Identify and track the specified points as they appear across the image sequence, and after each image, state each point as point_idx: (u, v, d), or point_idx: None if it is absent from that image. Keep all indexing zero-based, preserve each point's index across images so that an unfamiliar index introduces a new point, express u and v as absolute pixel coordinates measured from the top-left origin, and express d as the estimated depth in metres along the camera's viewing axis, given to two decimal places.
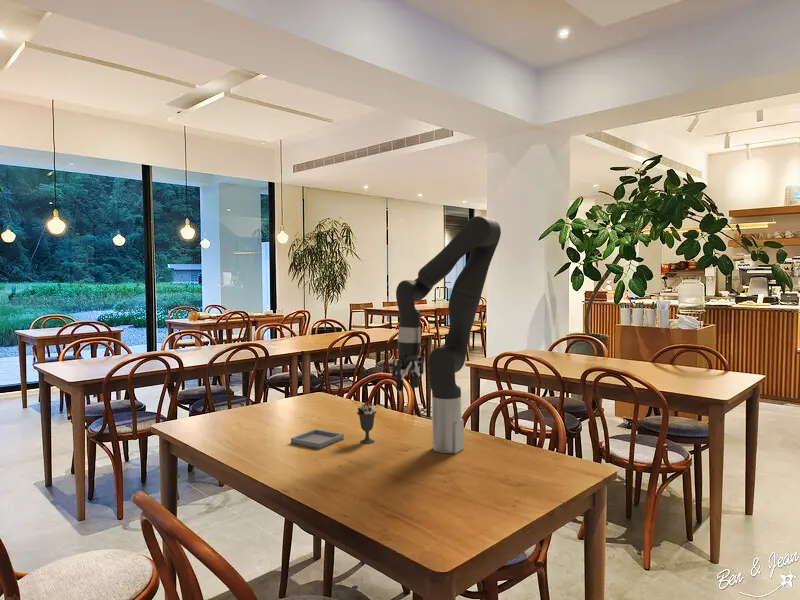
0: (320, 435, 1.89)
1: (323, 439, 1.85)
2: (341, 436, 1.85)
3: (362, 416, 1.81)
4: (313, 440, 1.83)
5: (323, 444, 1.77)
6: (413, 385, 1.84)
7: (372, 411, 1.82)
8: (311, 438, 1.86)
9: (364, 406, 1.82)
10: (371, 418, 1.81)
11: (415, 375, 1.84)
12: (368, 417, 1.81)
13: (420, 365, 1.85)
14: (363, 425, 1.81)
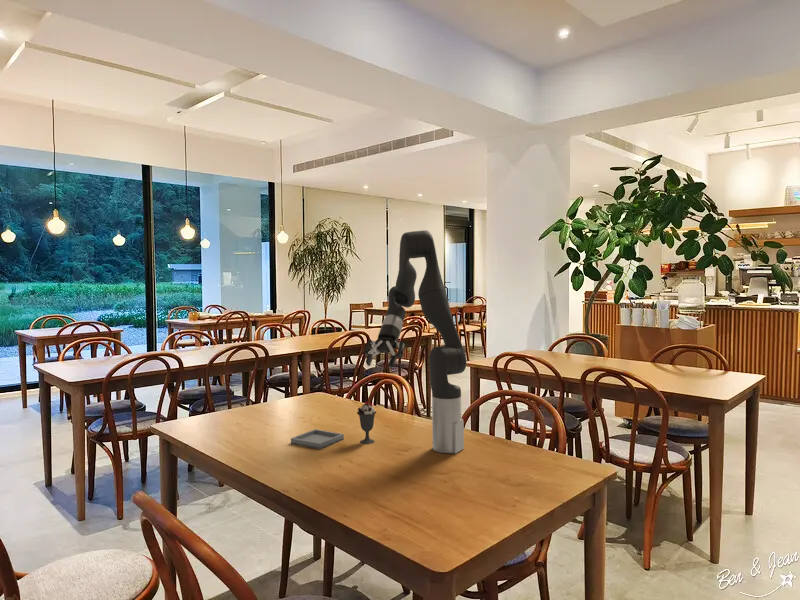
0: (320, 435, 1.89)
1: (323, 439, 1.85)
2: (341, 436, 1.85)
3: (362, 416, 1.81)
4: (313, 440, 1.83)
5: (323, 444, 1.77)
6: None
7: (372, 411, 1.82)
8: (311, 438, 1.86)
9: (364, 406, 1.82)
10: (371, 418, 1.81)
11: None
12: (368, 417, 1.81)
13: None
14: (363, 425, 1.81)
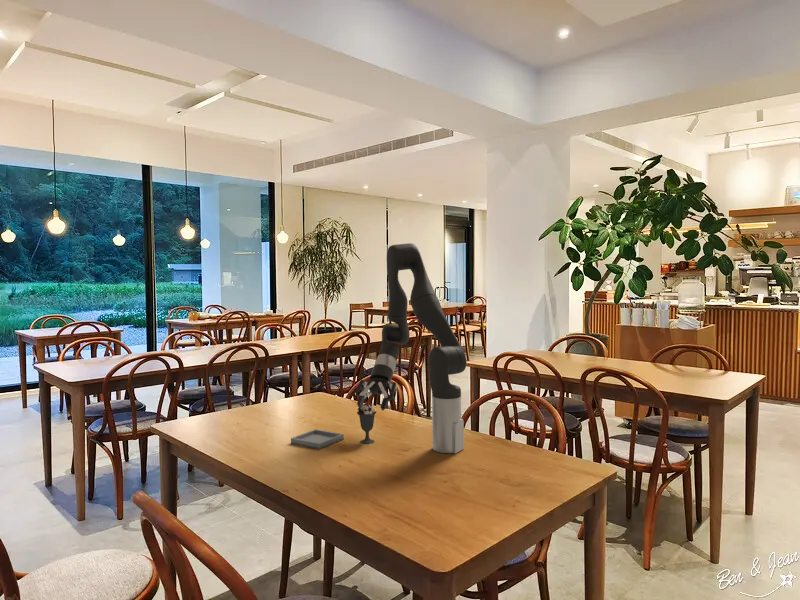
0: (320, 435, 1.89)
1: (323, 439, 1.85)
2: (341, 436, 1.85)
3: (362, 416, 1.81)
4: (313, 440, 1.83)
5: (323, 444, 1.77)
6: None
7: (372, 411, 1.82)
8: (311, 438, 1.86)
9: (364, 406, 1.82)
10: (371, 418, 1.81)
11: None
12: (368, 417, 1.81)
13: None
14: (363, 425, 1.81)
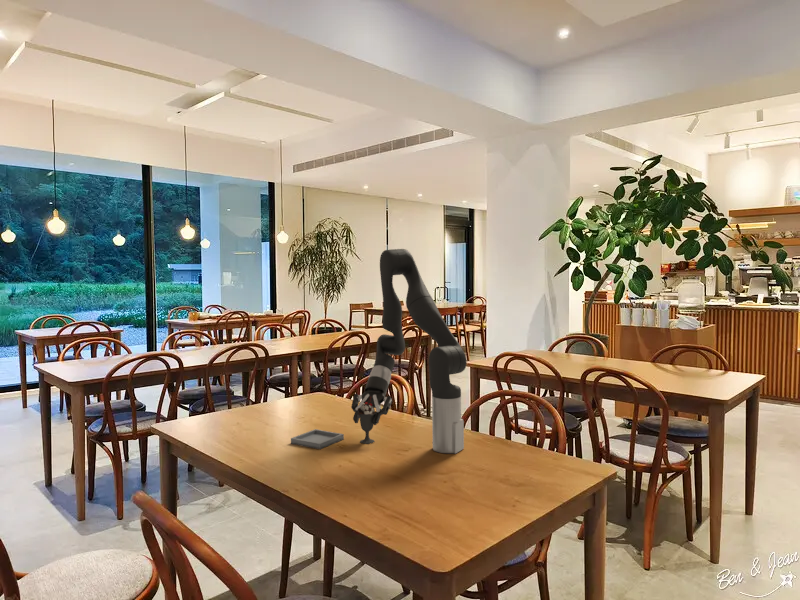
0: (320, 435, 1.89)
1: (323, 439, 1.85)
2: (341, 436, 1.85)
3: (362, 416, 1.81)
4: (313, 440, 1.83)
5: (323, 444, 1.77)
6: None
7: (372, 411, 1.82)
8: (311, 438, 1.86)
9: (364, 406, 1.82)
10: (372, 418, 1.81)
11: None
12: (368, 417, 1.81)
13: None
14: (363, 425, 1.81)
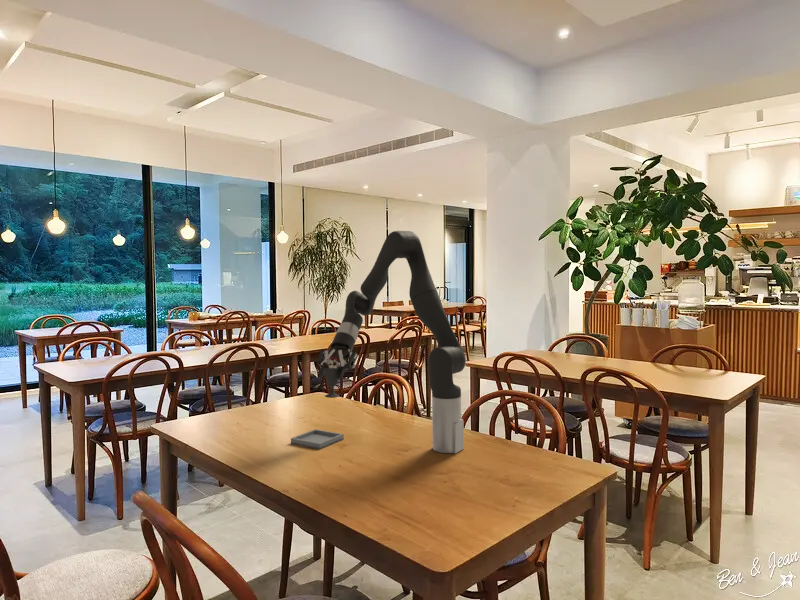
0: (320, 435, 1.89)
1: (323, 439, 1.85)
2: (341, 436, 1.85)
3: (327, 370, 1.82)
4: (313, 440, 1.83)
5: (323, 444, 1.77)
6: None
7: (337, 365, 1.83)
8: (311, 438, 1.86)
9: (329, 360, 1.83)
10: (336, 372, 1.82)
11: None
12: (332, 371, 1.82)
13: None
14: (328, 379, 1.82)
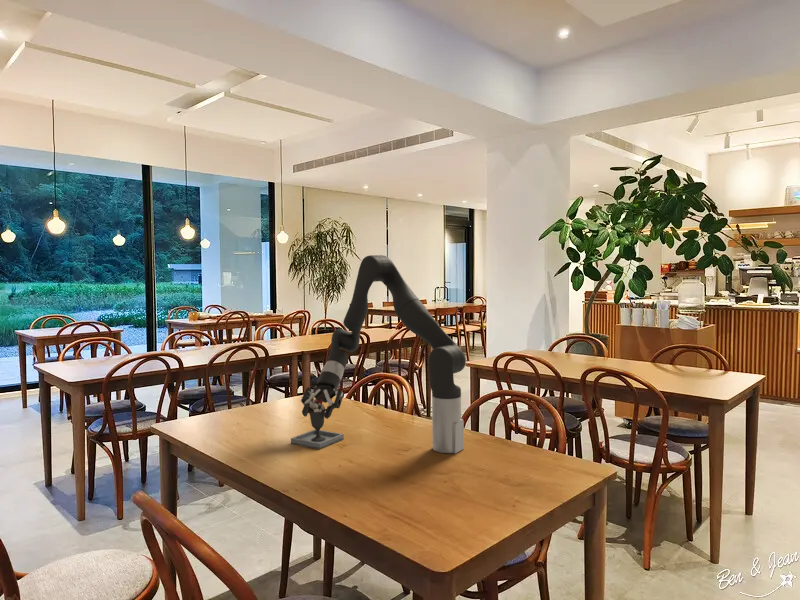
0: None
1: None
2: (341, 436, 1.85)
3: (312, 414, 1.82)
4: None
5: (323, 444, 1.77)
6: None
7: (322, 409, 1.83)
8: (311, 438, 1.86)
9: (314, 404, 1.83)
10: (321, 416, 1.83)
11: None
12: (317, 415, 1.82)
13: None
14: (313, 423, 1.83)
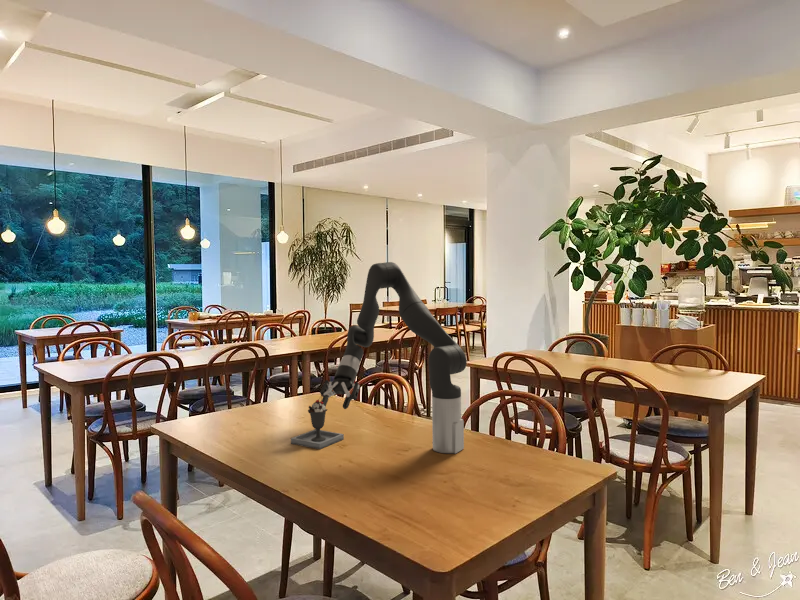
0: None
1: None
2: (341, 436, 1.85)
3: (312, 414, 1.82)
4: None
5: (323, 444, 1.77)
6: None
7: (323, 409, 1.83)
8: (311, 438, 1.86)
9: (315, 404, 1.83)
10: (322, 416, 1.83)
11: None
12: (318, 415, 1.82)
13: None
14: (314, 423, 1.83)
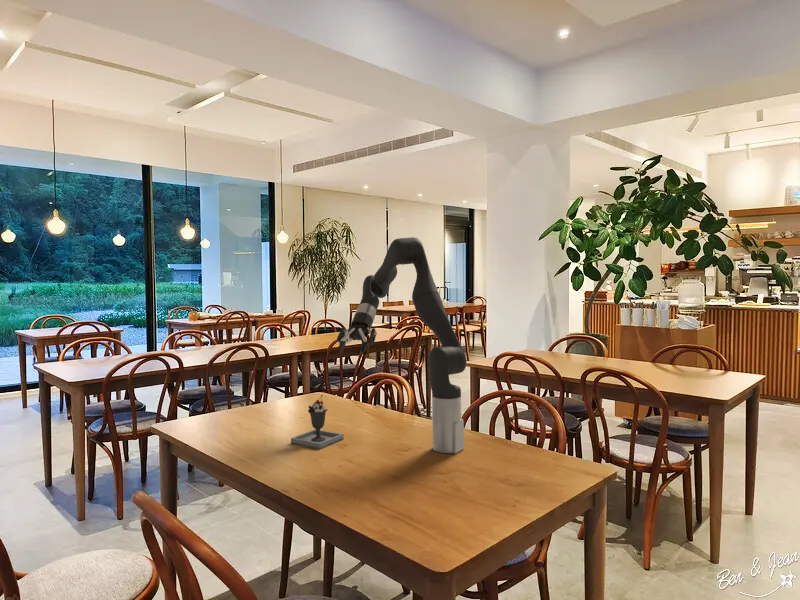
0: None
1: None
2: (341, 436, 1.85)
3: (312, 414, 1.82)
4: None
5: (323, 444, 1.77)
6: None
7: (323, 409, 1.83)
8: (311, 438, 1.86)
9: (315, 404, 1.83)
10: (322, 416, 1.83)
11: None
12: (318, 415, 1.82)
13: None
14: (314, 423, 1.83)
